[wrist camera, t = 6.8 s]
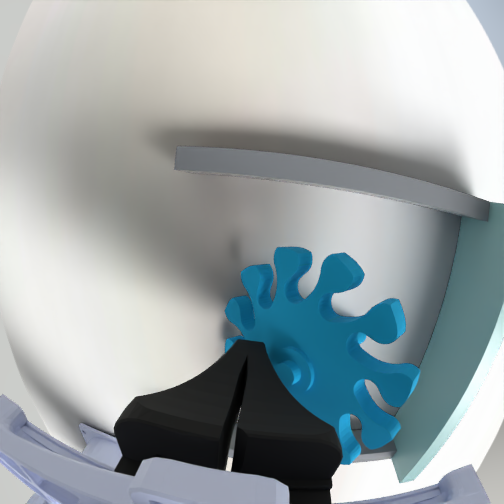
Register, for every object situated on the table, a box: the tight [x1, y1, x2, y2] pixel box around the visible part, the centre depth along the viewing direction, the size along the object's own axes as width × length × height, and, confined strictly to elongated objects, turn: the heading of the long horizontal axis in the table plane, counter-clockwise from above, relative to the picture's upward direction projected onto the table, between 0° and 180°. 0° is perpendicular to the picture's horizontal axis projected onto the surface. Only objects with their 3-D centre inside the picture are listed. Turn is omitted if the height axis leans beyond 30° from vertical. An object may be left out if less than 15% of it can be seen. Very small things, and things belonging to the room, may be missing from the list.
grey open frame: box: [174, 146, 504, 483], centre depth 12 cm, size 18×16×5 cm
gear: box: [225, 247, 420, 465], centre depth 12 cm, size 11×6×10 cm
